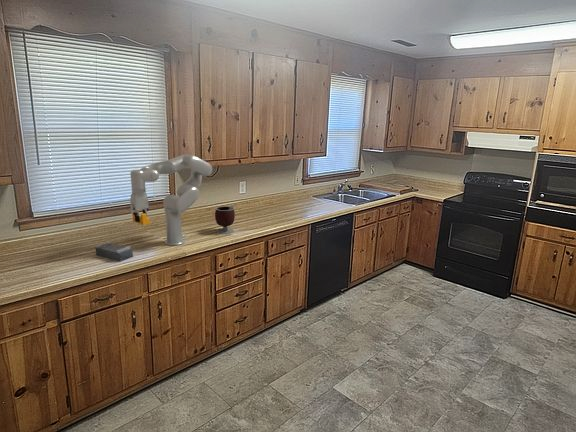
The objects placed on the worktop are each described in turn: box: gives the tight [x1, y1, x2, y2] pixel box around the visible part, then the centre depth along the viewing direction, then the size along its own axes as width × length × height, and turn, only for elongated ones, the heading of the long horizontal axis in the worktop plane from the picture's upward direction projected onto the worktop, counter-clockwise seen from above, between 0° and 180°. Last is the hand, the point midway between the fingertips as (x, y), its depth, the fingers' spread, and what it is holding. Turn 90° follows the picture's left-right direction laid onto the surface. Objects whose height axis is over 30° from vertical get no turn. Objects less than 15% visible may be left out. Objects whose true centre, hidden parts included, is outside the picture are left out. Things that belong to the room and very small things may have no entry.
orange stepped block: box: [131, 211, 151, 226], centre depth 234 cm, size 12×4×6 cm, turn 49°
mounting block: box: [94, 241, 134, 263], centre depth 228 cm, size 9×20×6 cm, turn 64°
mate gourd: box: [214, 203, 237, 235], centre depth 279 cm, size 16×14×20 cm
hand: (141, 220), depth 234 cm, fingers closed on orange stepped block, 4 cm apart
